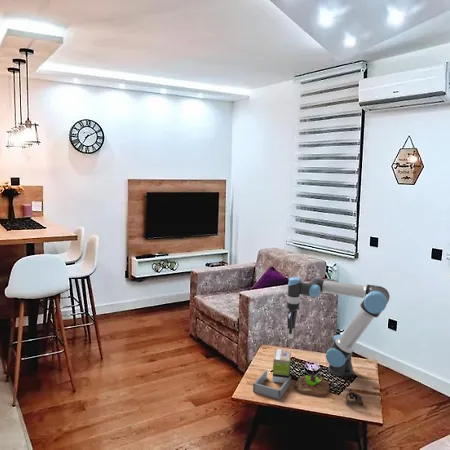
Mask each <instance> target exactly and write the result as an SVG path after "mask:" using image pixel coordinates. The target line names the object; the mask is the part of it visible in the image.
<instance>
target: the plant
mask: <svg viewBox="0 0 450 450" xmlns="http://www.w3.org/2000/svg"><path fill="white" fill-rule="evenodd" d="M314 372H315V368H312V370H311V375H308V374H307V375H306V374H305V375H302V376H299V377H298V379H297V381H296V382H294V389H296V393H299V394H301V395H308V396H309V395H310V396H313V397H318V398H319V397H321V398H322V397H327V396H328V394H329V393H330V385H329V382H328V381H327V380H325V379H323V376H322V375H319V374H317V375H316V374H315V373H314ZM314 374H315V375H314Z"/></svg>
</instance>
